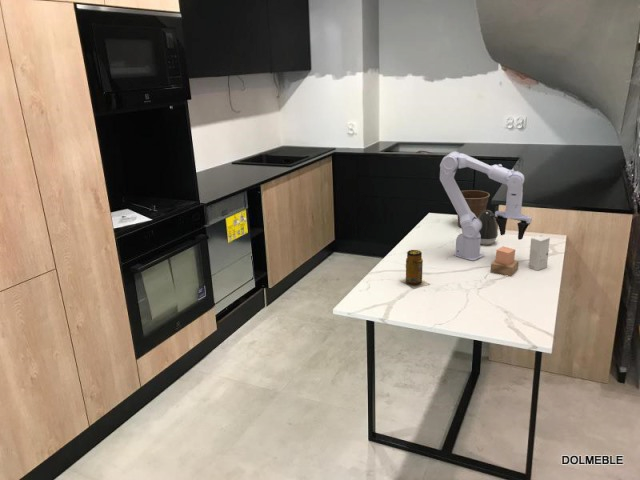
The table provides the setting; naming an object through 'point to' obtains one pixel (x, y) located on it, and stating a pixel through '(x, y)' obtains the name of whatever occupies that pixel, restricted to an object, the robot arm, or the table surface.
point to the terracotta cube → (505, 255)
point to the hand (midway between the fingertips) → (511, 236)
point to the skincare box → (539, 252)
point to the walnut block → (504, 268)
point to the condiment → (414, 269)
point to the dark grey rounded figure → (488, 227)
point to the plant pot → (475, 201)
